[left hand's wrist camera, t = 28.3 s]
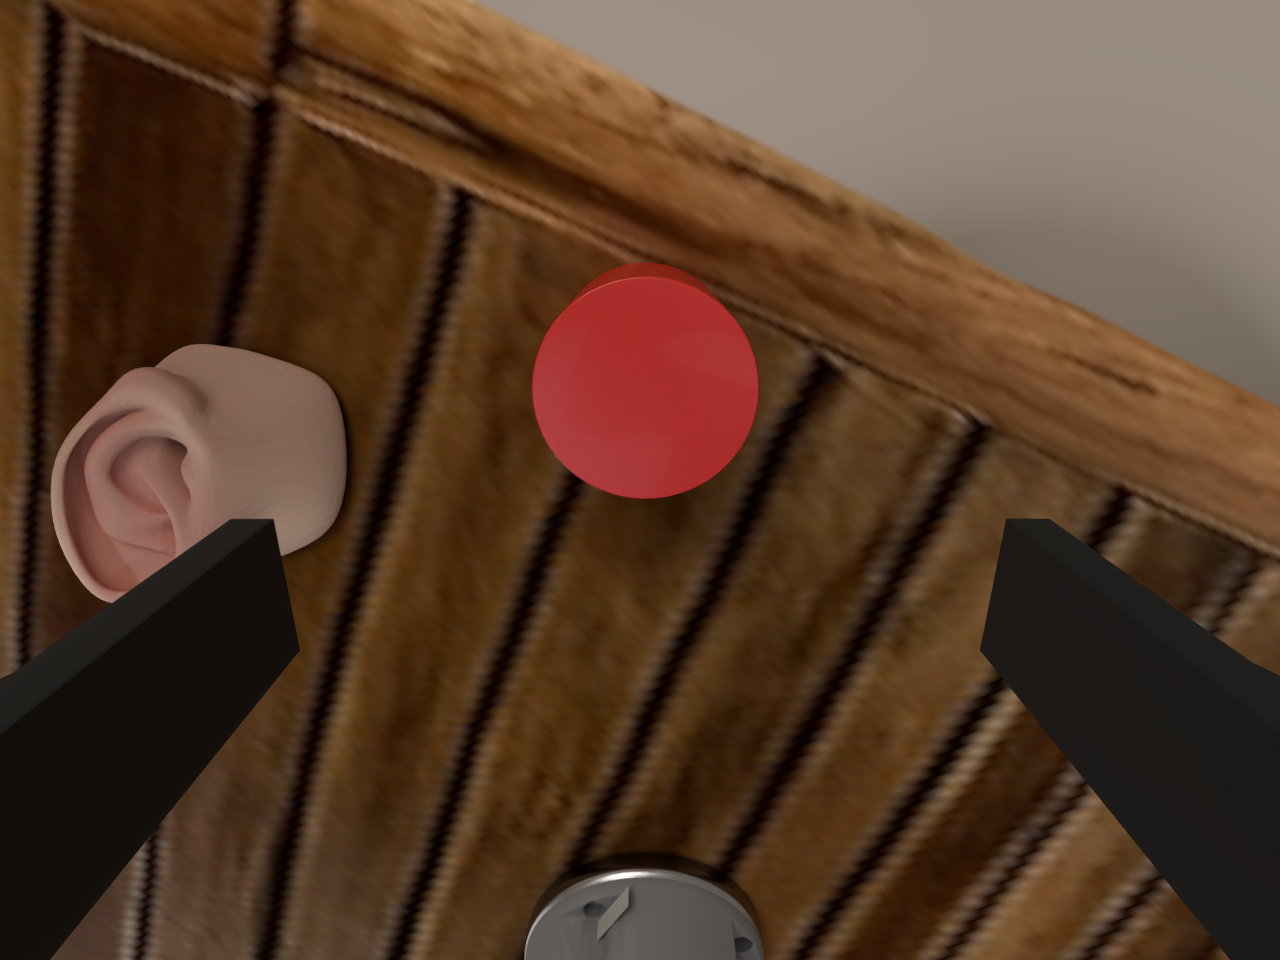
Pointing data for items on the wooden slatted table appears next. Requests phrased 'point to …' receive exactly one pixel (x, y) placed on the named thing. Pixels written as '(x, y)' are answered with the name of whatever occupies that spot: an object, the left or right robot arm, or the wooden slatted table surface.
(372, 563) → the wooden slatted table surface
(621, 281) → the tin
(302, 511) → the anatomical model
